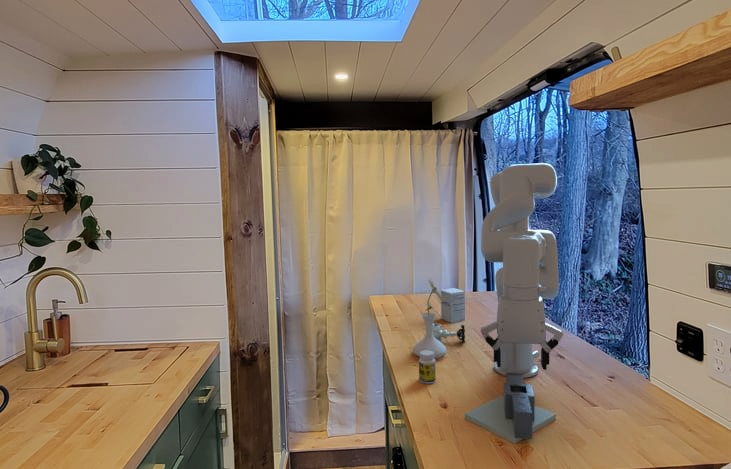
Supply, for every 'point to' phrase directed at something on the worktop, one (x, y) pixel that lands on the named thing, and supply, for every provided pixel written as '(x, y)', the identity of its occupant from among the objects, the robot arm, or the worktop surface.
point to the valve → (447, 333)
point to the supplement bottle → (427, 367)
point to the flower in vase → (430, 332)
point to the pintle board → (494, 414)
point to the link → (519, 408)
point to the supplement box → (453, 305)
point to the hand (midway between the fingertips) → (520, 366)
